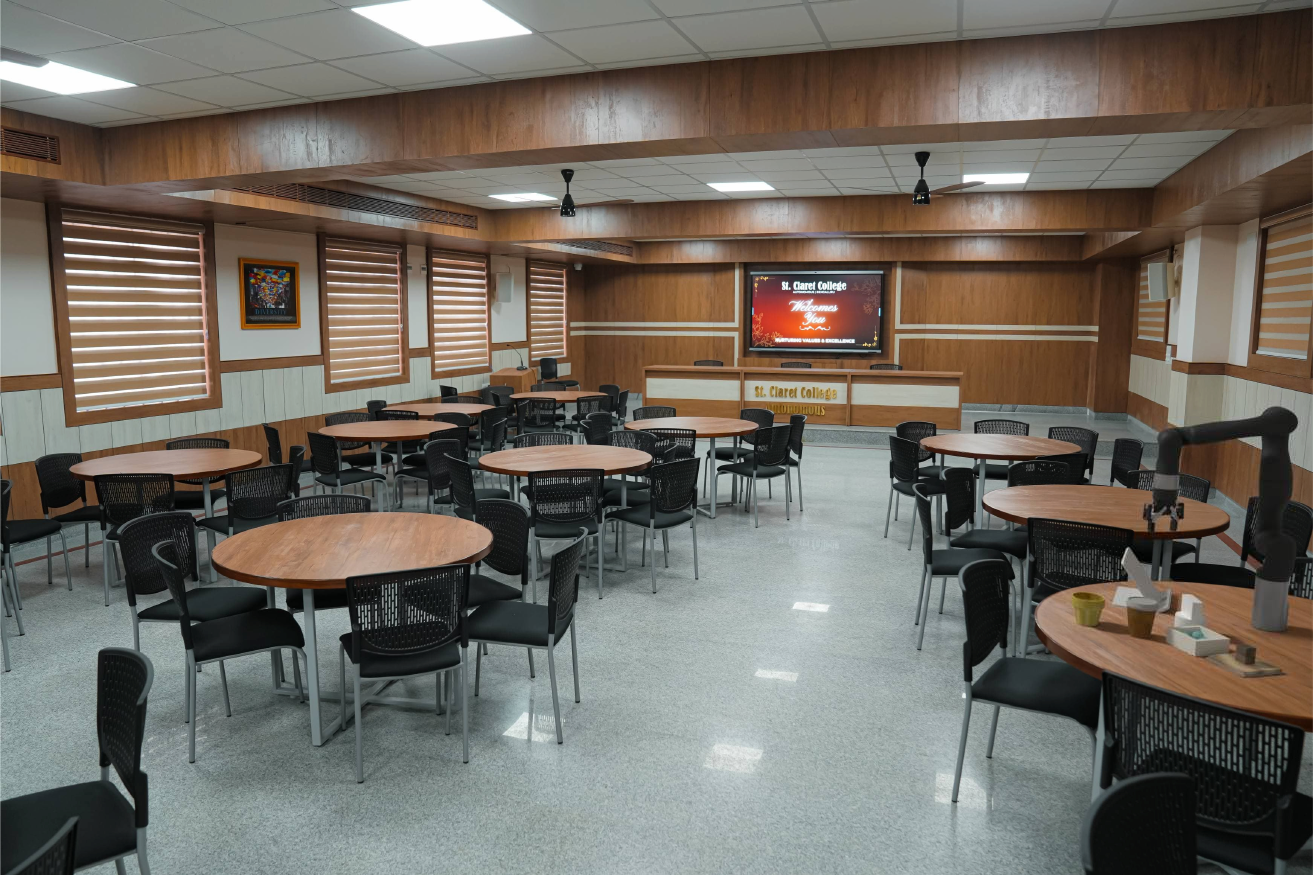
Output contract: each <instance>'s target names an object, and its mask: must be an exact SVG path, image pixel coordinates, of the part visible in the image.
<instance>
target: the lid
mask: <svg viewBox="0 0 1313 875" xmlns="http://www.w3.org/2000/svg"><path fill="white" fill-rule="evenodd" d="M1256 654H1257V647H1255V646H1254V645H1251V644H1249V643H1247V642H1246V643H1237V644H1236V647H1235V652H1232V653H1231V652H1229V653H1227V654H1214V655H1209V656H1208V657H1209V658H1210V659H1212V660H1214V661H1216V662H1218V663H1220V664H1222V665H1224V666H1226V667H1228V668H1230V669H1232V670H1234V671H1236V672H1238V673H1240V674H1242V675H1253V674H1266V673H1279V672H1283V668H1281V667H1280V666H1276V665H1274V664H1272V663H1270V662H1268V661H1266V660H1263V659H1262V658H1259V657H1257V656H1256Z"/></svg>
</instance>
